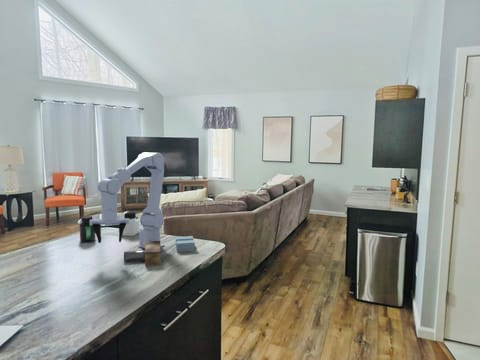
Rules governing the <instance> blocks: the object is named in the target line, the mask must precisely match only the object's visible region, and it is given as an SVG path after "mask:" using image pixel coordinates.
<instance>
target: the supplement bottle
mask: <svg viewBox="0 0 480 360" xmlns="http://www.w3.org/2000/svg"><path fill="white" fill-rule="evenodd" d="M90 220H93V216H92V215H85V216H81V219H80V221H81V222H80V223H79V224H78V225H79V241H80V243H83V244H84V243H92V242H95V240H96V234H95V232H94V230H93V228H92V227H93V225H90Z"/></svg>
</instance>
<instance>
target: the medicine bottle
mask: <svg viewBox="0 0 480 360" xmlns="http://www.w3.org/2000/svg"><path fill="white" fill-rule="evenodd" d="M136 213H137V212H135V211H133V210H129V211H127V210H126V211H124V212H123V218H129V224H126V226H125V228H124V231H123V234H122V237H125V236H126V237H128V236H129V237H134V236H136V235H137V234H139V232H140V219H137V218H136Z"/></svg>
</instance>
